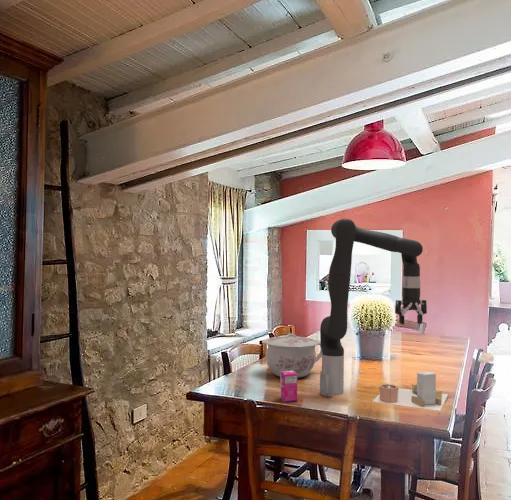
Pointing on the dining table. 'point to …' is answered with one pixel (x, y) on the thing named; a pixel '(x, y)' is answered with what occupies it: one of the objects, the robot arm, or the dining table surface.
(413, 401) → the white square board
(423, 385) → the skincare box
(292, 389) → the supplement box
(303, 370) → the chamber pot
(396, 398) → the cup
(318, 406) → the dining table surface
